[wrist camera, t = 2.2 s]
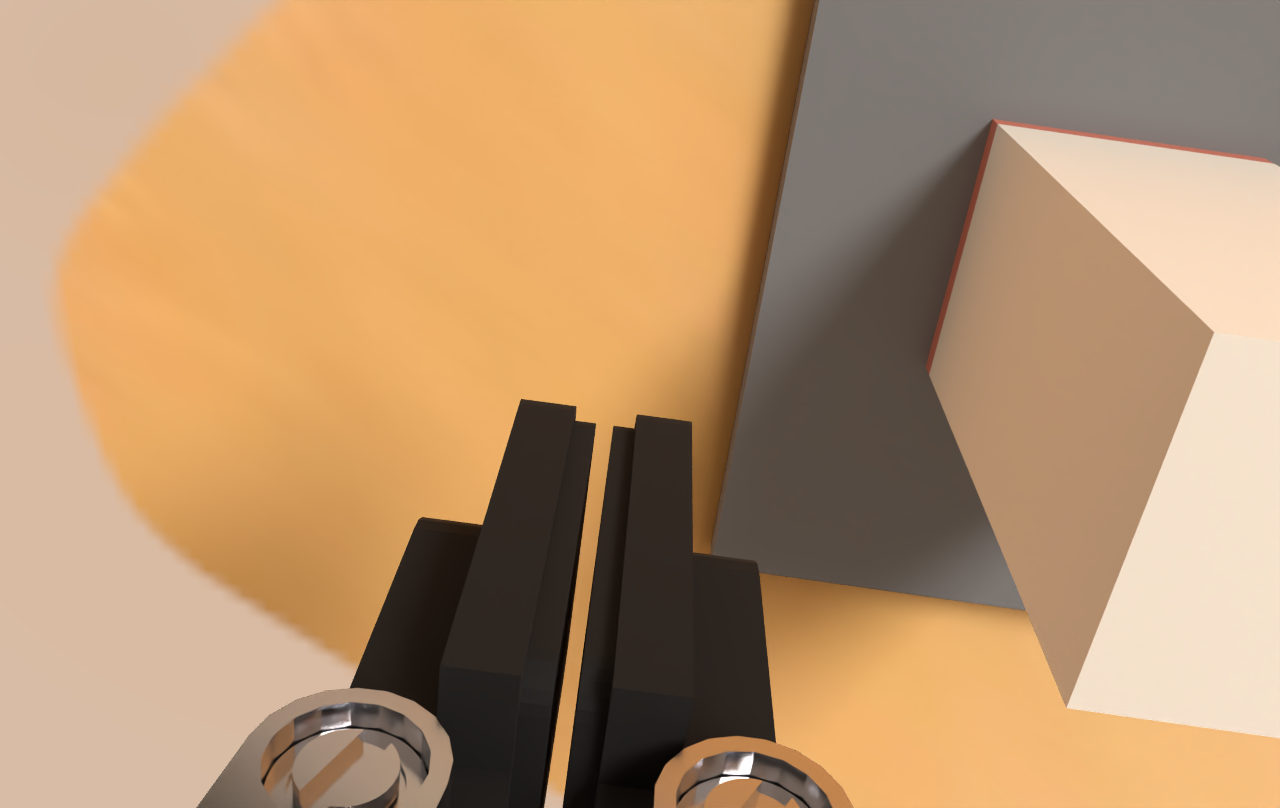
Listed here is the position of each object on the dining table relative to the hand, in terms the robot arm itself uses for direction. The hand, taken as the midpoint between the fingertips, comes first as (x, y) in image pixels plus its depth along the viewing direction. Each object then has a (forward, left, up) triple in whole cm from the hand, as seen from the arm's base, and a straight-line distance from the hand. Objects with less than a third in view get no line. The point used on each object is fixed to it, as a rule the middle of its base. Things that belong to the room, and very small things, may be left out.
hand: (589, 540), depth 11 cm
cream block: (-8, 0, -12) cm, 14 cm away
